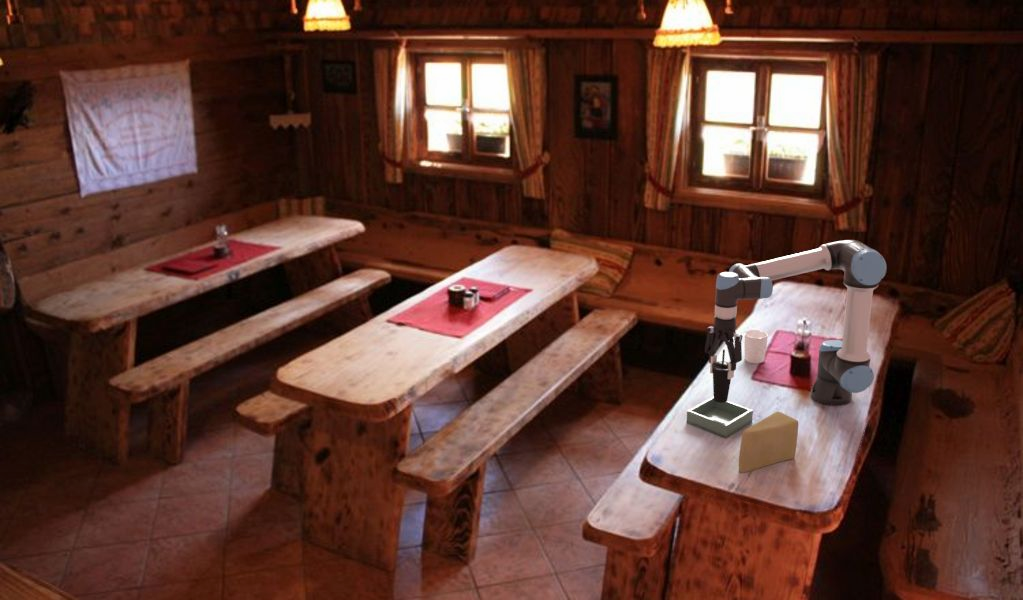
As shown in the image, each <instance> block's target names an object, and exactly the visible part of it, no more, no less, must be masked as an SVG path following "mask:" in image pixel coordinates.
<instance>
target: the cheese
mask: <svg viewBox="0 0 1023 600" xmlns="http://www.w3.org/2000/svg"><path fill="white" fill-rule="evenodd" d="M798 433H799V421H798V420H797V419H796V418H794V417H791V416H790V415H788V414H785V413H783V412H781V411H775V412H773V413H771V414H770V415H768V416H766V417H765V418H763V419H761V420H759V421H758V422H756V423H754V424H753V425H751V426H749V427H748V428H746V429H744V430H743V431H742V435H741V441H740V446H739V448H740V449H739V455H738V472H739V473H742V474H744V473H747V472H750V471H754V470H757V469H761V468H763V467H767V466H770V465H774V464H777V463H781V462H785V461H788V460H793V459H796V452H797V451H796V450H797V444H798Z"/></svg>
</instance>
